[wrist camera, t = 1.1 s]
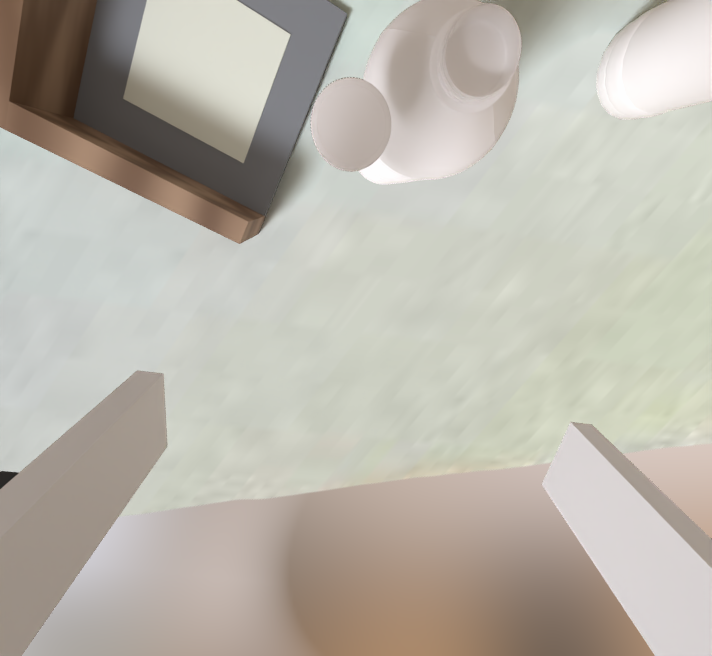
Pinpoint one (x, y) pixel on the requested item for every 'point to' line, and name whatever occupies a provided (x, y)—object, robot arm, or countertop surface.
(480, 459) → the countertop surface
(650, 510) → the robot arm
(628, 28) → the bottle
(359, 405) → the countertop surface
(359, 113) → the water bottle
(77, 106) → the mat
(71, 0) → the corner walls
